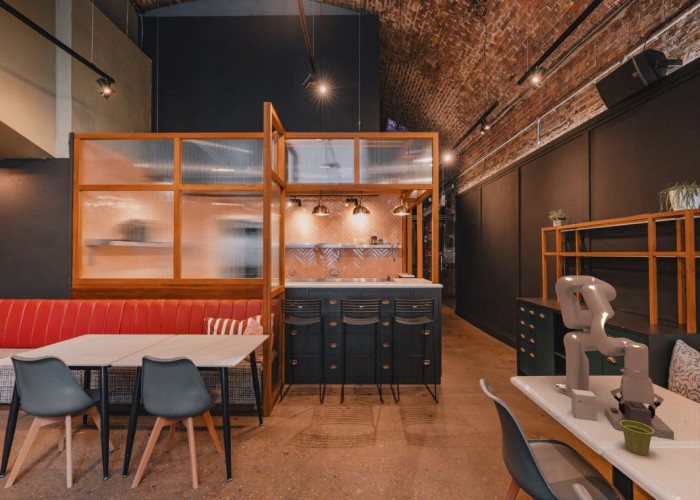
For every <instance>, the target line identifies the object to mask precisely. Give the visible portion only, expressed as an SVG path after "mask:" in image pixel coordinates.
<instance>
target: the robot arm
mask: <svg viewBox="0 0 700 500" xmlns="http://www.w3.org/2000/svg"><path fill="white" fill-rule="evenodd" d="M554 287H555V293H556V297H557V298H558V301H559V305H560V310H561V316H562V320H563V325H564V326H565V327H566V328H568V329H572V330H581V329H583V331H570V332H567V333H566V334H565V335H564V337H563V344H564V345H563V346H564V350H565V372H566V373H565V377H566V378H565V381H564V383H562V384H561V383H557V382H555V388H558V389H560V390H562V393H563V394H564V395H566V396H567V397H570V398H572V394H571V390H572V389H574V390H583V391H590V361H589V358H588V356H587V354H586V353H585V352H594V351H595V352H596V351H598V352H599V353H601V355H603V356H605V357H618V356H619V357H621V356H622V357H624V358H623V359H624V360H623V361H624V363H623V364H624V366H623V368H620V370H619V371H620V372H621V373H622V375H621V379H620V386H619V388H618V387H617V388H614V389H612V390H610V394H611V395H612V398H614V400H616V402H617V403H618V409H619V410H620V411H621V413H622V414H625V405H624V402H625V401H630V402H637V403H643V404H644V405H648V406H647V408H648V409H649V410H650V411H651V418H653V419H654V416H655V415H656V409H658V407H660V406H661V404H662V403H663V402H664V400H665V399H664V398H663V397H662V396H660V395H659V394H656V393H655V391H654V385H653V380H652V379H651V377H649V348H648V346H647V345H646V344H643V343H640V342H636V341H633V340H631V339H630V338H626V337H608V335H607V333H606V330H605V324H606V322H607V320H609V319H612V318H613V317H614V316H615V312H614V309H613V307H612V306H611V304H610V302H611V301H614V300H615V299H616V297H617V291H616V289H615V288H614V287H613V286H612V285H611V284H610V283H608V282H606V281H604V280H601V279H599V278H597V277H594V276H592V275H566V276H565V275H564V276H561V277H560V278H558V279H557V281H556V283H555V285H554ZM574 293H581V295H582V297H583V300H584V302H585V305H586V306H587V308H588V309H582V308H581V304H580V301H579V299H578V298H577V296H576V295H575V294H574ZM617 394H620V396H619V397H618V395H617ZM655 399H656V400H655Z"/></svg>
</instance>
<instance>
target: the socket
mask: <svg viewBox="0 0 700 500" xmlns="http://www.w3.org/2000/svg"><path fill="white" fill-rule="evenodd" d="M603 410H604V413H603V414H604V416H605V417H606V418H607V420H608V421H609V422H610V424H611V425H612V426H613V428H614V429H615V430H616V431H619V432H620V431H621V432H623V429H622V426H621V425H620V421H622V420H629V419H628V418H627V417H626V416H625V415H623V414H622V413H621V411H620V410H619V408H618V409H617V407H606V406H605V407H604V408H603ZM647 426H649V427H651V428H652V429H653V430H654V433H653V434H652V437H656V438H662V439H668V440H675V434H674V433H675V431H673V430H672V428H671V427H669V425H667V424H666V423H665V422H664V421H663V420H662V419H661V418H660V417H659V416H658V415H657V414H655V416H654V419H653V418H651V426H650V425H647Z"/></svg>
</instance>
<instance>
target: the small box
mask: <svg viewBox="0 0 700 500" xmlns="http://www.w3.org/2000/svg"><path fill="white" fill-rule="evenodd" d="M571 394H572V397H571V413H572V415H573V417H575V418H576V419H579V420H580V419H581V420H588V421H589V420H590V421H597V420H598V409H597V407H598V406H597V405H598V404H597V403H598V398H597V395H595V393H594V392H593V391H591V390H589V391H583V390H574V389H572V390H571Z"/></svg>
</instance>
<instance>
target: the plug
mask: <svg viewBox="0 0 700 500" xmlns="http://www.w3.org/2000/svg"><path fill="white" fill-rule="evenodd" d="M624 405H625V414H623V415H625V416H626V417H627V418H628V419H629V420H631V421H636V422H640V423H643V424H645V425H650V426H651V411H650V410H649V409H648V406H646V404H644V403H637V402H630V401H625V402H624Z"/></svg>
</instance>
